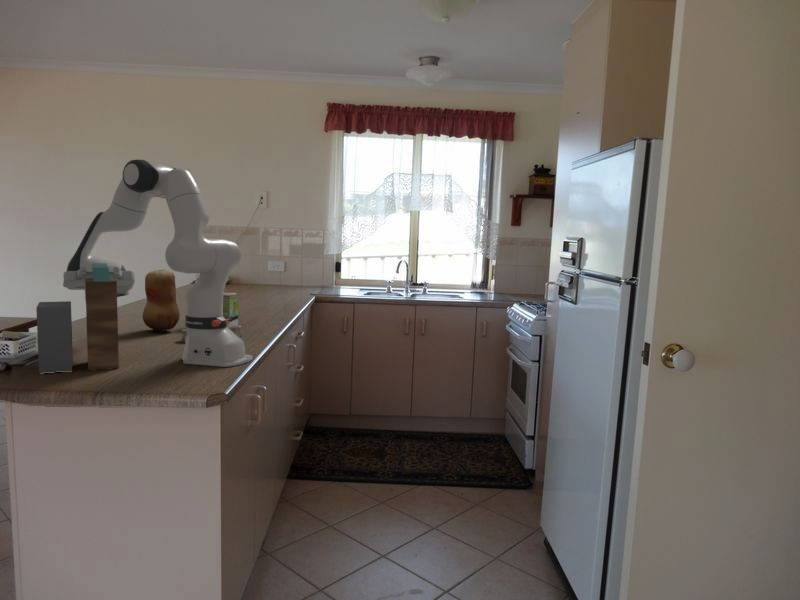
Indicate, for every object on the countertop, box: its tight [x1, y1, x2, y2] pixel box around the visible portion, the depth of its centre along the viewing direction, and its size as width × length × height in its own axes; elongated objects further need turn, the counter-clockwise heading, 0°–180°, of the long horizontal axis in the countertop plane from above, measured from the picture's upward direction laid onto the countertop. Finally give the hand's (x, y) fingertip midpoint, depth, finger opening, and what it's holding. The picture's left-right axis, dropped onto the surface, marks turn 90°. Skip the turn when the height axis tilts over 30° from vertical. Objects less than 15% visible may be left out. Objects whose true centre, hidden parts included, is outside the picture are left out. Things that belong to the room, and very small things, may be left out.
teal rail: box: [92, 263, 109, 282], centre depth 171 cm, size 20×4×4 cm, turn 29°
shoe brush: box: [180, 324, 243, 342], centre depth 217 cm, size 24×8×5 cm, turn 134°
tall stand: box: [85, 278, 120, 371], centre depth 170 cm, size 12×8×26 cm, turn 29°
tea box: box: [223, 292, 239, 325], centre depth 240 cm, size 15×10×15 cm, turn 84°
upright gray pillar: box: [35, 300, 74, 374], centre depth 164 cm, size 12×8×19 cm, turn 29°
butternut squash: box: [142, 268, 181, 333], centre depth 226 cm, size 14×13×25 cm
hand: (100, 269), depth 177 cm, fingers open, 8 cm apart
